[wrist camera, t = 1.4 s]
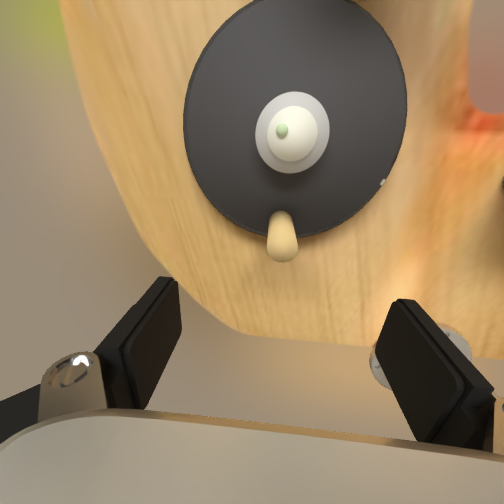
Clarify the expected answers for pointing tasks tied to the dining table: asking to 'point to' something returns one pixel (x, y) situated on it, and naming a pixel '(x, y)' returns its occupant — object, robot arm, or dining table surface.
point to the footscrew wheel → (295, 117)
